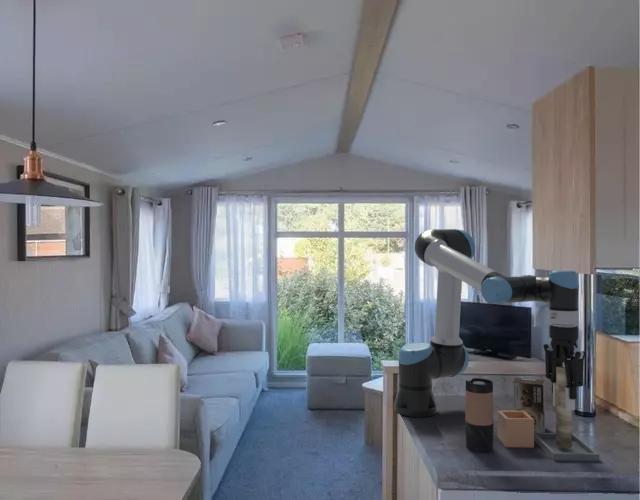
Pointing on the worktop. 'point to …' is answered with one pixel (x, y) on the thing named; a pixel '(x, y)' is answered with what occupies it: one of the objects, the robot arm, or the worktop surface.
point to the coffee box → (530, 400)
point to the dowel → (562, 411)
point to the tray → (574, 453)
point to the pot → (515, 428)
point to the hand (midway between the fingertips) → (564, 407)
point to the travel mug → (479, 415)
